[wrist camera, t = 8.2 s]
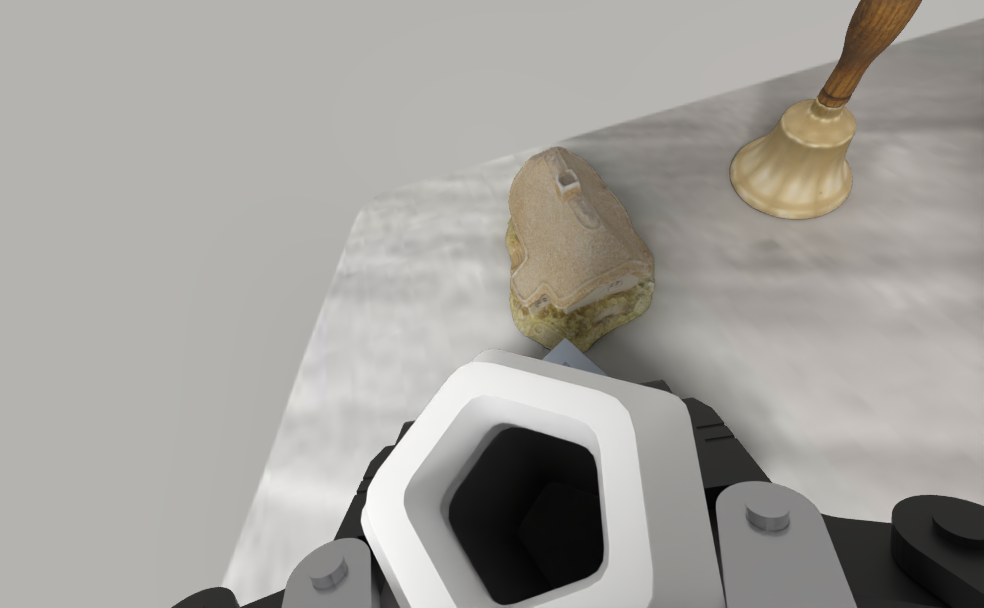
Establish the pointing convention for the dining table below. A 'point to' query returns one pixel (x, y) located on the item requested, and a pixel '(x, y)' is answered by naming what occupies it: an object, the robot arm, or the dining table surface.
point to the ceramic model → (572, 254)
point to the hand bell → (818, 128)
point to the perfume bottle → (544, 495)
